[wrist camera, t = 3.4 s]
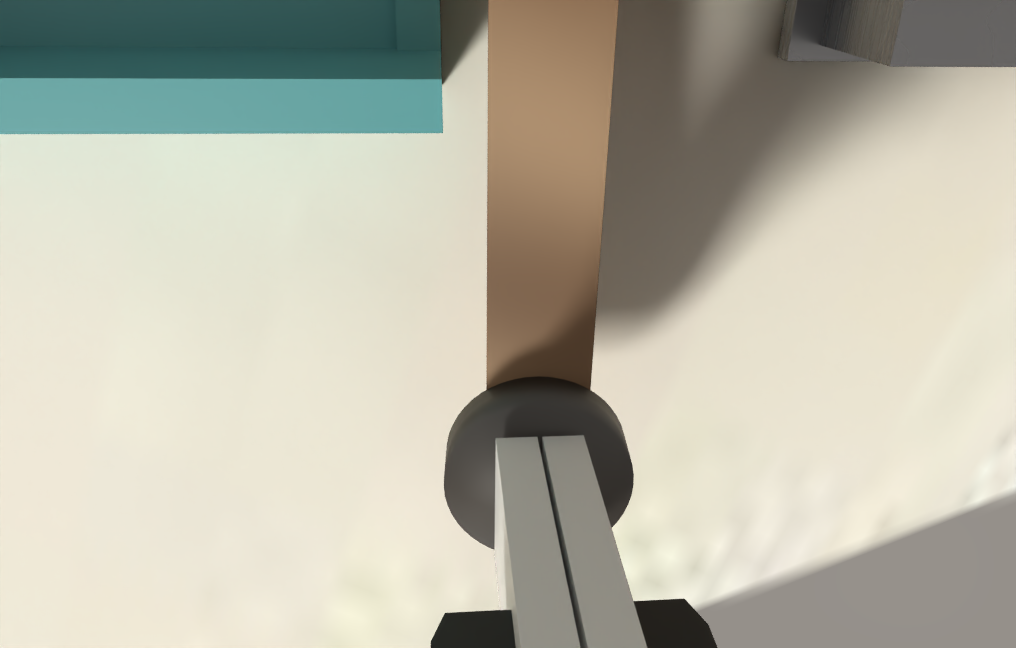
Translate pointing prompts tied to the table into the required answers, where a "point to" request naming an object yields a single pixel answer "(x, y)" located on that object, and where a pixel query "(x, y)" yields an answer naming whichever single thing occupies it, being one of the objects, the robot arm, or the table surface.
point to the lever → (542, 250)
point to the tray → (220, 66)
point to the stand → (901, 32)
